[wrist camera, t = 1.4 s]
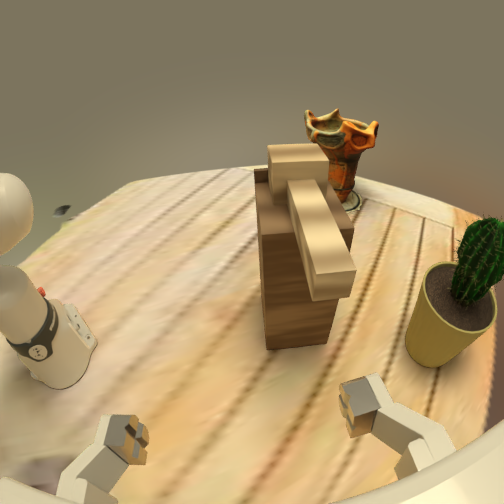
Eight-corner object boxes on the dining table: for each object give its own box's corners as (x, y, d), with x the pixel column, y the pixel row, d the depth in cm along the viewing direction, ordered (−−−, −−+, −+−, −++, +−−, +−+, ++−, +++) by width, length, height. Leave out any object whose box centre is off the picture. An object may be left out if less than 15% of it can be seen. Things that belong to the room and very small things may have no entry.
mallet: (366, 294, 25) (382, 245, 21) (293, 303, 25) (296, 252, 21) (315, 180, 42) (317, 143, 38) (268, 183, 42) (267, 145, 38)
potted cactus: (464, 327, 48) (532, 211, 28) (451, 388, 39) (551, 273, 19) (406, 302, 55) (455, 175, 35) (384, 359, 46) (453, 224, 26)
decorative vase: (327, 173, 98) (334, 98, 79) (379, 204, 85) (397, 121, 65) (282, 191, 90) (284, 105, 71) (337, 228, 76) (353, 131, 57)
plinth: (326, 343, 50) (357, 214, 31) (266, 350, 50) (260, 220, 31) (313, 290, 60) (327, 165, 41) (261, 295, 60) (253, 169, 41)
